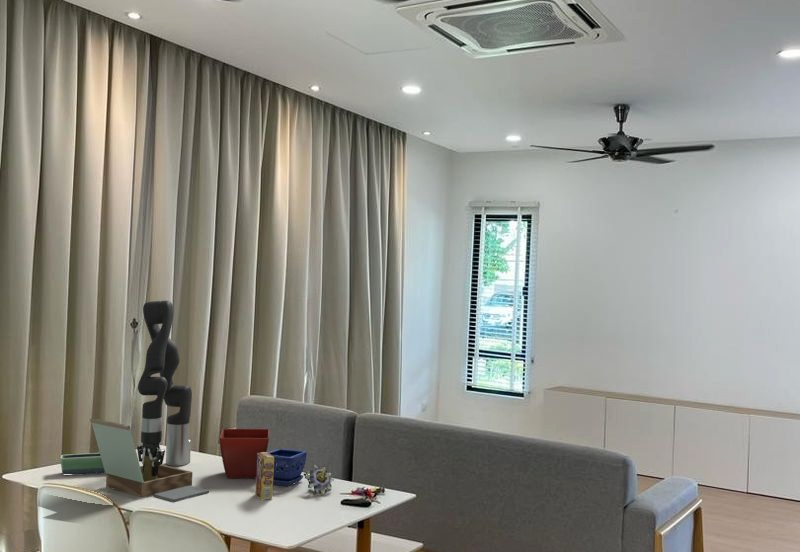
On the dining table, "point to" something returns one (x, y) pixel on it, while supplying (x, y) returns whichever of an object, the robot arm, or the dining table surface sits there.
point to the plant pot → (242, 451)
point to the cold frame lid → (117, 449)
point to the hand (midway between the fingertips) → (150, 474)
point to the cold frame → (152, 482)
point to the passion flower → (319, 479)
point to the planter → (82, 463)
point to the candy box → (264, 475)
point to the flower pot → (288, 466)
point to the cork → (148, 469)
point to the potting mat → (181, 493)
